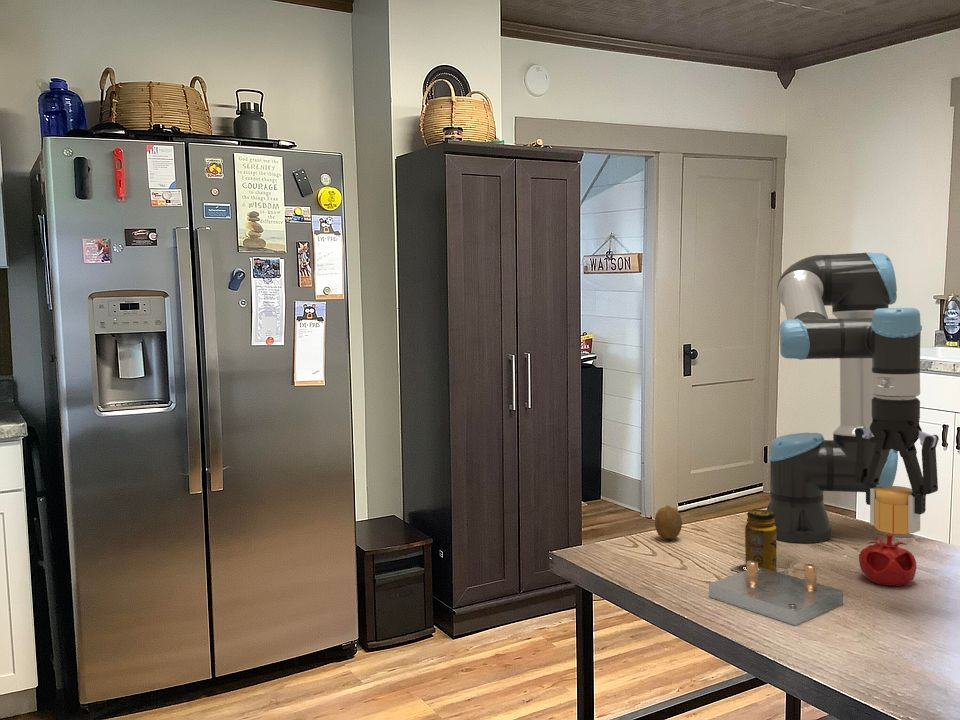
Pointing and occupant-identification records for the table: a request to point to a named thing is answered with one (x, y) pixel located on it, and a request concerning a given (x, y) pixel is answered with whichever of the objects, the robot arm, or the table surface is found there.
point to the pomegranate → (887, 563)
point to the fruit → (668, 522)
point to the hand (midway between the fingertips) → (894, 527)
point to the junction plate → (777, 593)
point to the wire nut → (892, 509)
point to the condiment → (760, 541)
